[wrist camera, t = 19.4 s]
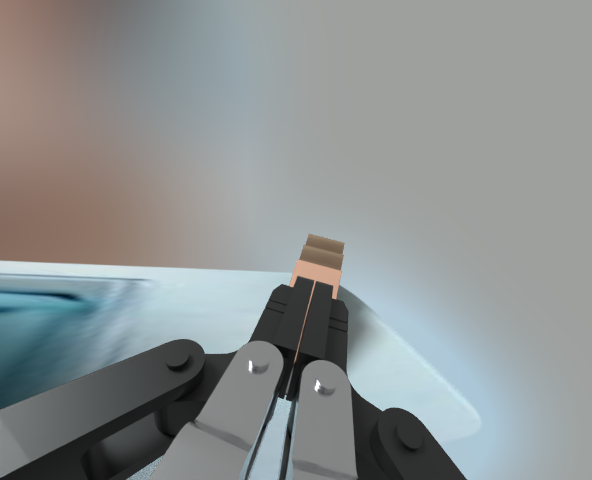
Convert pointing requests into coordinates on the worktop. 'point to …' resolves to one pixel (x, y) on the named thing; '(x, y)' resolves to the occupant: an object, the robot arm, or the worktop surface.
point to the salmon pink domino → (316, 277)
